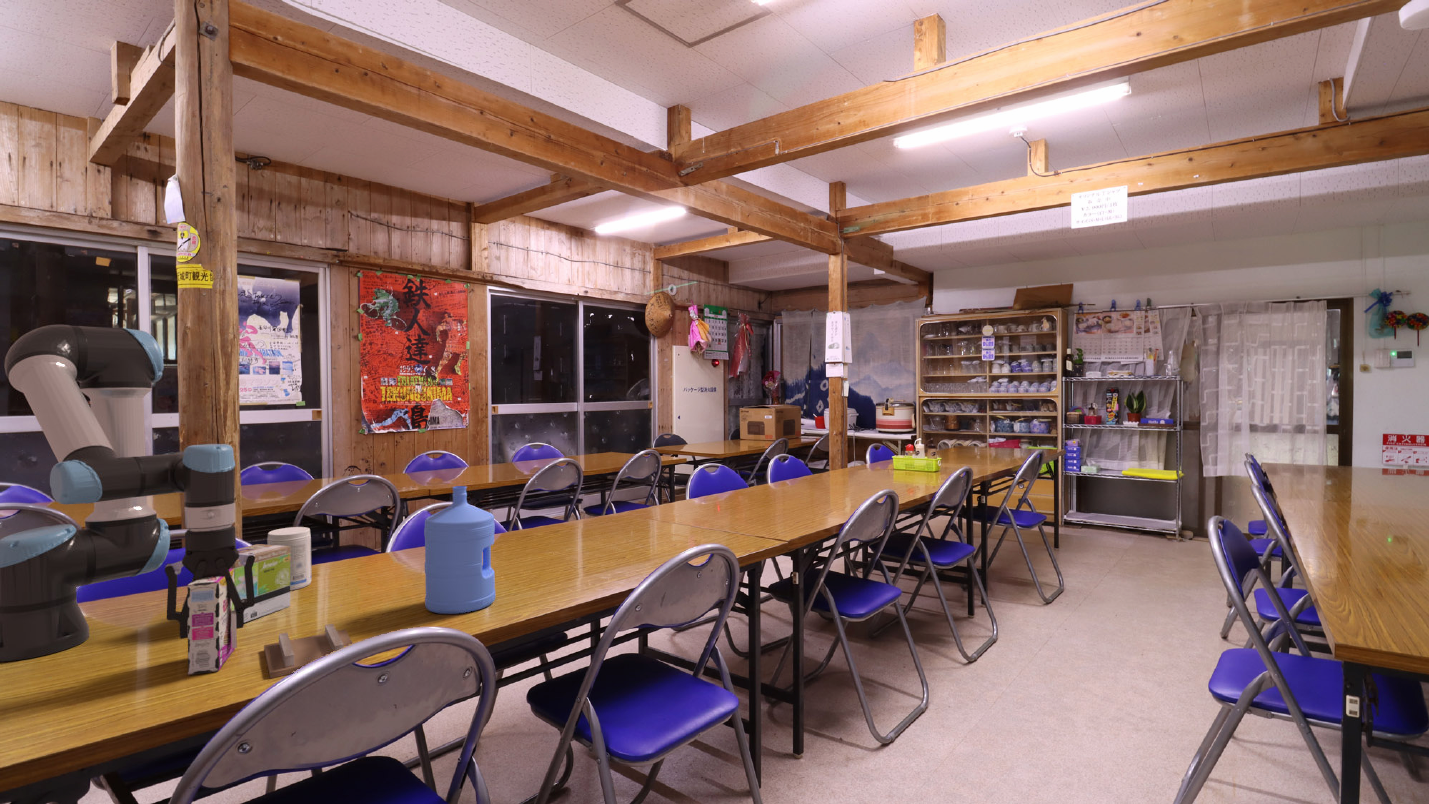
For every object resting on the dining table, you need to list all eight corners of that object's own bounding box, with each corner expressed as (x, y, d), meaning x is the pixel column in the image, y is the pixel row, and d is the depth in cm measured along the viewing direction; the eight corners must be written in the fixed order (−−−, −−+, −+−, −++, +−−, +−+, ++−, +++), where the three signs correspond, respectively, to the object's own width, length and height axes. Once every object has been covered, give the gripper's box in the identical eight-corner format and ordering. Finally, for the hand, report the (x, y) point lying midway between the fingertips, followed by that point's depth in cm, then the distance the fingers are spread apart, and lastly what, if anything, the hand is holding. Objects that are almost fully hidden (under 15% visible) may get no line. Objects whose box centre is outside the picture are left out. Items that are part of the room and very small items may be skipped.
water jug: (438, 620, 146) (437, 494, 146) (416, 603, 158) (414, 486, 158) (506, 605, 157) (505, 487, 156) (480, 590, 168) (479, 480, 168)
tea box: (234, 629, 142) (233, 560, 142) (196, 625, 144) (194, 558, 144) (292, 606, 157) (291, 544, 156) (256, 603, 159) (255, 542, 158)
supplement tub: (279, 582, 176) (278, 527, 176) (318, 580, 178) (317, 525, 177) (260, 593, 167) (259, 535, 166) (301, 591, 168) (300, 533, 168)
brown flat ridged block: (269, 678, 117) (269, 661, 117) (264, 650, 130) (264, 635, 130) (358, 658, 126) (358, 643, 126) (345, 634, 138) (344, 619, 138)
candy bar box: (221, 671, 120) (219, 581, 120) (187, 676, 118) (185, 585, 118) (237, 649, 130) (235, 566, 130) (206, 653, 128) (204, 569, 128)
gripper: (142, 537, 115) (145, 669, 116) (272, 524, 126) (274, 644, 127) (146, 530, 121) (148, 655, 122) (269, 518, 132) (271, 632, 133)
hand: (212, 649), depth 124 cm, fingers closed on candy bar box, 6 cm apart
